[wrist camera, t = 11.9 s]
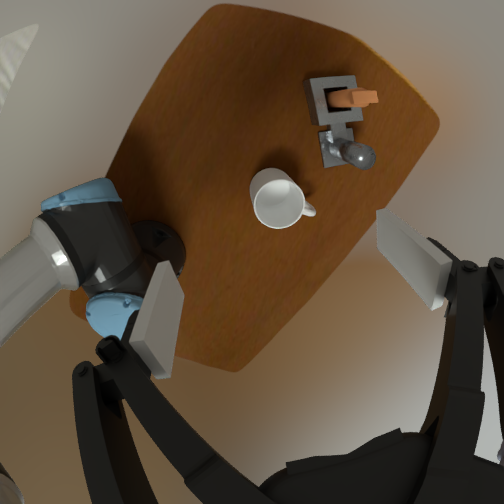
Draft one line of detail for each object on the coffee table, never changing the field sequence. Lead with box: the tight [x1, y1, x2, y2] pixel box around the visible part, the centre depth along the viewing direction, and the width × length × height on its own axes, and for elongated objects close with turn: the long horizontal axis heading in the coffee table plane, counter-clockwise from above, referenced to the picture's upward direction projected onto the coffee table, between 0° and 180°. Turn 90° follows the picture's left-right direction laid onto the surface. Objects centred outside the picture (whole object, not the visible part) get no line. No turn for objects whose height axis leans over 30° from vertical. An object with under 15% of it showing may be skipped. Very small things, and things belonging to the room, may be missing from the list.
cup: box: [250, 168, 316, 229], centre depth 48 cm, size 8×12×10 cm
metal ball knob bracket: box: [303, 75, 376, 170], centre depth 41 cm, size 9×17×12 cm, turn 13°
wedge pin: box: [324, 88, 378, 108], centre depth 37 cm, size 4×3×15 cm
